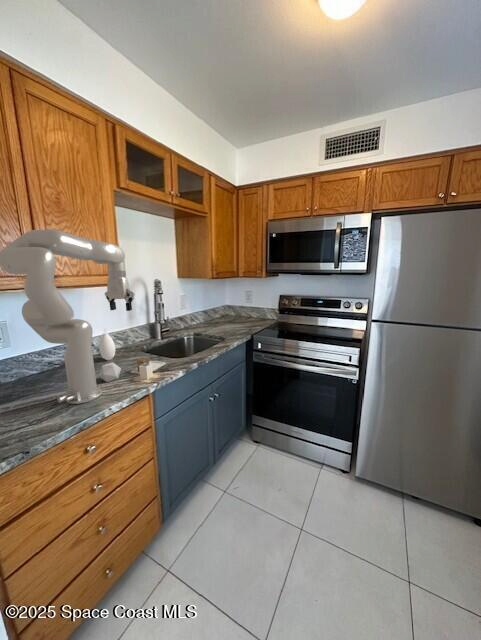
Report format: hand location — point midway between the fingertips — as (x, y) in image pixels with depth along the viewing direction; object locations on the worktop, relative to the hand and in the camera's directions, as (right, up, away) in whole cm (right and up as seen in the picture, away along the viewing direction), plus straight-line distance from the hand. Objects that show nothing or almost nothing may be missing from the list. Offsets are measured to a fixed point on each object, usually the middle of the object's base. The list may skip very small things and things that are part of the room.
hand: (121, 310), depth 130 cm
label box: (+15, -31, -7) cm, 36 cm away
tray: (+12, -30, +5) cm, 32 cm away
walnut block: (+11, -30, +1) cm, 32 cm away
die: (-1, -33, -8) cm, 34 cm away
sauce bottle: (-16, -28, +20) cm, 37 cm away
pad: (+15, -32, -7) cm, 36 cm away
